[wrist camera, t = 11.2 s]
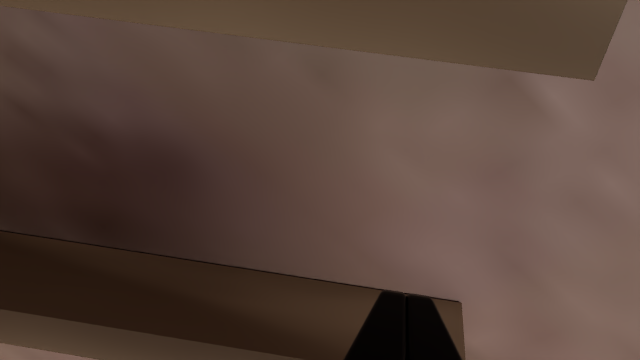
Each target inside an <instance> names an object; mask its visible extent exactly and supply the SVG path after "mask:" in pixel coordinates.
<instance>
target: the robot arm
mask: <svg viewBox="0 0 640 360" xmlns="http://www.w3.org/2000/svg"><path fill="white" fill-rule="evenodd" d="M343 360H462V358H461V356H460V354H459V352H458V350H457V348H456V346H455V344H454V342H453V340H452V338H451V336H450V334H449V332H448V329H447V327H446V325H445V323H444V321H443V319H442V317H441V315H440V313H439V311H438V309H437V307H436V305H435V303H434V301H433V300H432V298H430V297H429V296H424V295H418V294H408V295H407V296H406V295H405V294H404V293H403V292H398V291H391V290H383V291H381V293H380V294H379V296H378V298H377V300H376V301H375V303H374V305H373V307H372V309H371V310H370V312H369V314H368V316H367V318H366V320H365V321H364V323H363V325H362V327H361V329H360V330H359V332H358V334H357V336H356V338H355V340H354V341H353V343H352V345H351V347H350V349H349V350H348V352H347V354H346V356H345V358H344V359H343Z"/></svg>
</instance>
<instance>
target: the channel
mask: <svg viewBox="0 0 640 360" xmlns="http://www.w3.org/2000/svg"><path fill="white" fill-rule="evenodd" d="M626 2H627V0H0V6H6V7H14V8H22V9H30V10H38V11H46V12H54V13H62V14H70V15H78V16H86V17H93V18H101V19H109V20H117V21H125V22H133V23H141V24H149V25H157V26H165V27H173V28H181V29H188V30H196V31H204V32H212V33H220V34H228V35H236V36H244V37H252V38H260V39H268V40H276V41H283V42H291V43H299V44H307V45H315V46H323V47H331V48H339V49H347V50H355V51H363V52H371V53H378V54H386V55H394V56H402V57H410V58H418V59H426V60H434V61H442V62H450V63H458V64H466V65H473V66H481V67H489V68H497V69H505V70H513V71H521V72H529V73H537V74H545V75H553V76H561V77H569V78H576V79H584V80H592V81H594V80H595V77H596V75H597V72H598V70H599V68H600V65H601V63H602V60H603V58H604V55H605V53H606V51H607V48H608V46H609V43H610V41H611V39H612V36H613V34H614V31H615V29H616V27H617V24H618V22H619V19H620V17H621V14H622V12H623V10H624V7H625V5H626ZM381 291H382V290H376V289H369V288H363V287H357V286H350V285H344V284H337V283H331V282H324V281H318V280H312V279H305V278H299V277H292V276H286V275H279V274H273V273H267V272H260V271H254V270H247V269H241V268H234V267H228V266H222V265H215V264H209V263H202V262H196V261H189V260H183V259H177V258H170V257H164V256H157V255H151V254H144V253H138V252H132V251H125V250H119V249H112V248H106V247H99V246H93V245H86V244H80V243H74V242H67V241H61V240H54V239H48V238H41V237H35V236H29V235H22V234H16V233H9V232H3V231H0V343H5V344H11V345H16V346H22V347H28V348H34V349H40V350H46V351H52V352H58V353H64V354H69V355H75V356H81V357H87V358H93V359H99V360H343V359H344V358H345V356H346V354H347V352H348V350H349V349H350V347H351V345H352V343H353V341H354V340H355V338H356V336H357V334H358V332H359V330H360V329H361V327H362V325H363V323H364V321H365V320H366V318H367V316H368V314H369V312H370V310H371V309H372V307H373V305H374V303H375V301H376V300H377V298H378V296H379V294H380V293H381ZM405 295H406V296H407V295H408V294H405ZM432 300H433V301H434V303H435V305H436V307H437V309H438V311H439V313H440V315H441V317H442V319H443V321H444V323H445V325H446V327H447V329H448V332H449V334H450V336H451V338H452V340H453V342H454V344H455V346H456V348H457V350H458V352H459V354H460V356H461V358H462V360H465V346H464V332H463V317H462V303H459V302H453V301H447V300H440V299H434V298H432Z"/></svg>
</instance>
